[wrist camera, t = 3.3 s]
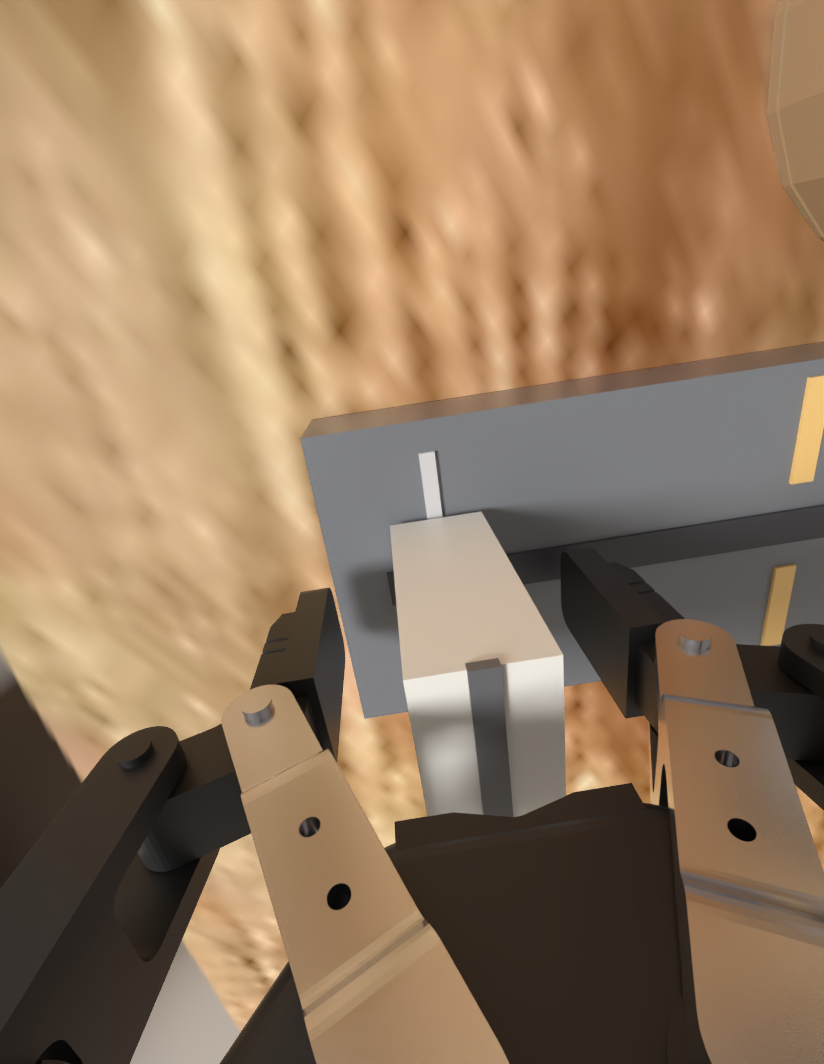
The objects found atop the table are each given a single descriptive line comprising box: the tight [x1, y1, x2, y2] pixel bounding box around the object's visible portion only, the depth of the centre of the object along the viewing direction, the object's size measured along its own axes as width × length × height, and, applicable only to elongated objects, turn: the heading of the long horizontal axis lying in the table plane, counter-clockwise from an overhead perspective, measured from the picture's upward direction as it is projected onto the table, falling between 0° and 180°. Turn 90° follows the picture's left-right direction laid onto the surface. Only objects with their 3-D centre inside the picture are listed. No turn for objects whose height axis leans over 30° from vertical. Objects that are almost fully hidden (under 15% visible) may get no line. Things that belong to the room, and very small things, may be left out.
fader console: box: [300, 342, 824, 719], centre depth 15 cm, size 9×20×3 cm, turn 98°
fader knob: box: [390, 512, 566, 817], centre depth 11 cm, size 4×2×6 cm, turn 8°
